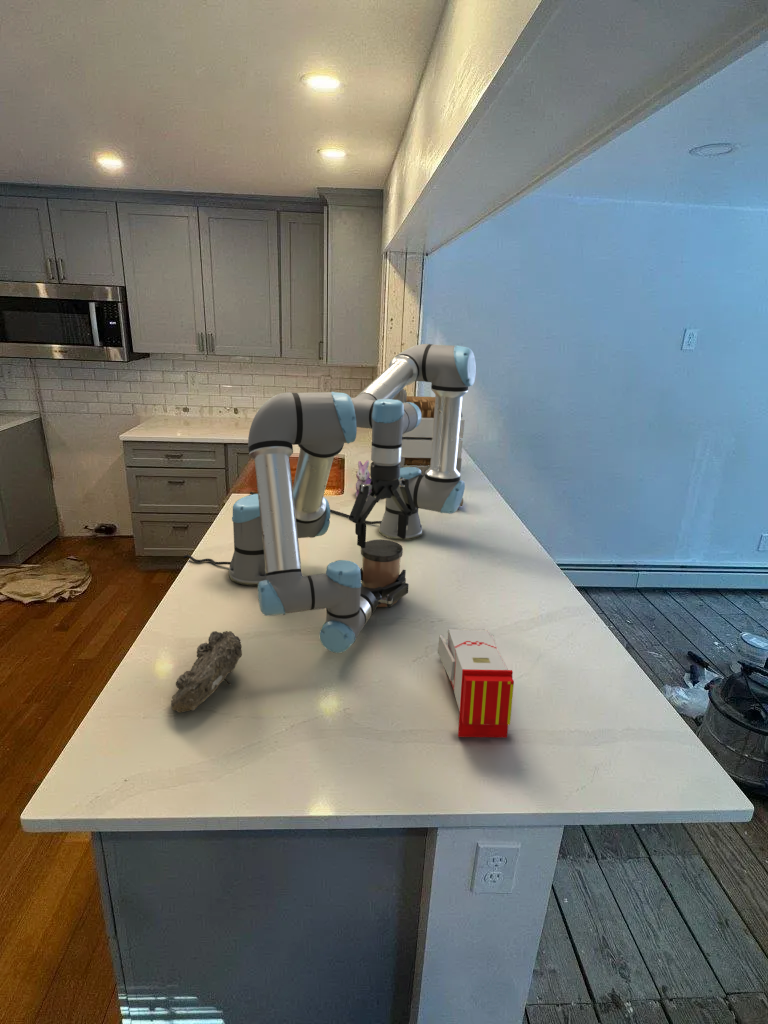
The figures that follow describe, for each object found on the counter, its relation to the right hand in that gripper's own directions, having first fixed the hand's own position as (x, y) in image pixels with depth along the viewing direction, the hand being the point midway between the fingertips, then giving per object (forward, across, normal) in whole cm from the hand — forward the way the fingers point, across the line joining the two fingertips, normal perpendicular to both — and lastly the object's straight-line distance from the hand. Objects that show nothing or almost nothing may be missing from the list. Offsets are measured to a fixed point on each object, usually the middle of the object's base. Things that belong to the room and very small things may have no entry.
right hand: (381, 541), depth 149 cm
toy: (+17, +7, +43) cm, 47 cm away
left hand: (+10, -4, -3) cm, 11 cm away
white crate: (+16, -89, -93) cm, 130 cm away
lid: (+2, 0, 0) cm, 2 cm away
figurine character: (+16, -70, -48) cm, 87 cm away
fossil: (+17, +50, +12) cm, 55 cm away
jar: (+17, 0, 0) cm, 17 cm away
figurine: (+16, -46, -76) cm, 90 cm away
